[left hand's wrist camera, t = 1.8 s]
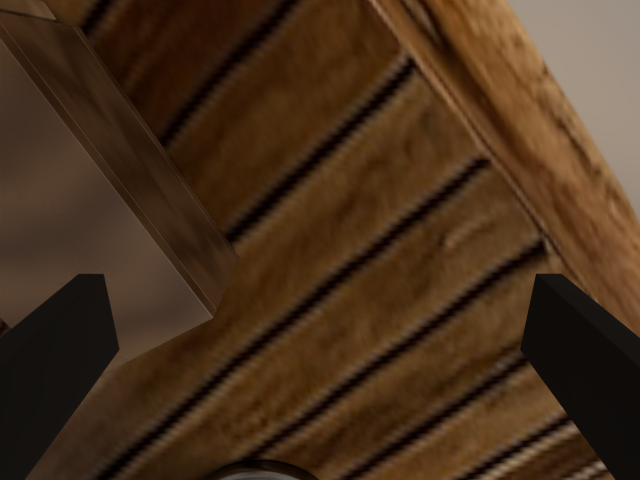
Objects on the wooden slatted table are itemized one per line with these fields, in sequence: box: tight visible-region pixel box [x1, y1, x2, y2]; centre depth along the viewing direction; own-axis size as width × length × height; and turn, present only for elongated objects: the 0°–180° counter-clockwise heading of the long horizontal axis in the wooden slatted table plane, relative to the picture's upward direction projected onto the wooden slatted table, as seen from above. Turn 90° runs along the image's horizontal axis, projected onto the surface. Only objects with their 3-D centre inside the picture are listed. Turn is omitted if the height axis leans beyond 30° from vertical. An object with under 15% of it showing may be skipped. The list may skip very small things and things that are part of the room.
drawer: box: [0, 0, 56, 22], centre depth 26 cm, size 24×10×7 cm, turn 29°
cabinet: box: [0, 12, 239, 374], centre depth 27 cm, size 19×11×9 cm, turn 29°
